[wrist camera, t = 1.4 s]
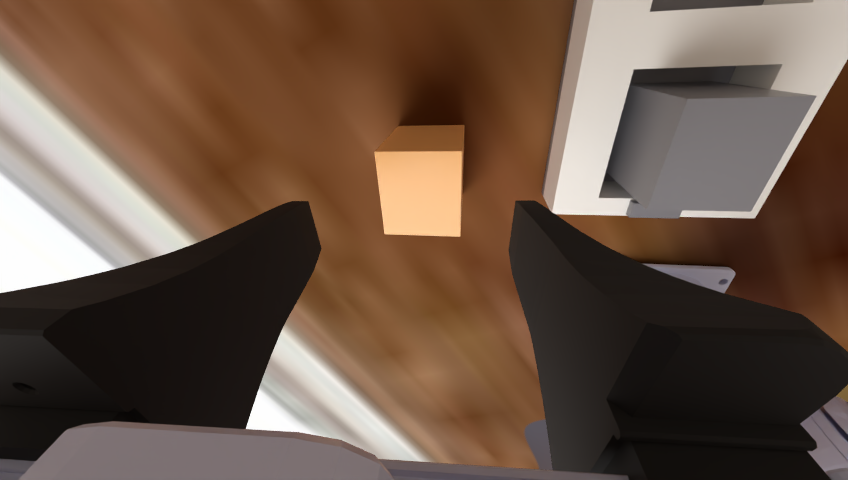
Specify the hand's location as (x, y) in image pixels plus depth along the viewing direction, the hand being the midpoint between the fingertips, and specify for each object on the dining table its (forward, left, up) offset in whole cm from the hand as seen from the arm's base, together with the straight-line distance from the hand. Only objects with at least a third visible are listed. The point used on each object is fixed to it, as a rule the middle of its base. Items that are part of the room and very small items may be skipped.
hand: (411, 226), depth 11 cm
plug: (-1, 0, -10) cm, 10 cm away
